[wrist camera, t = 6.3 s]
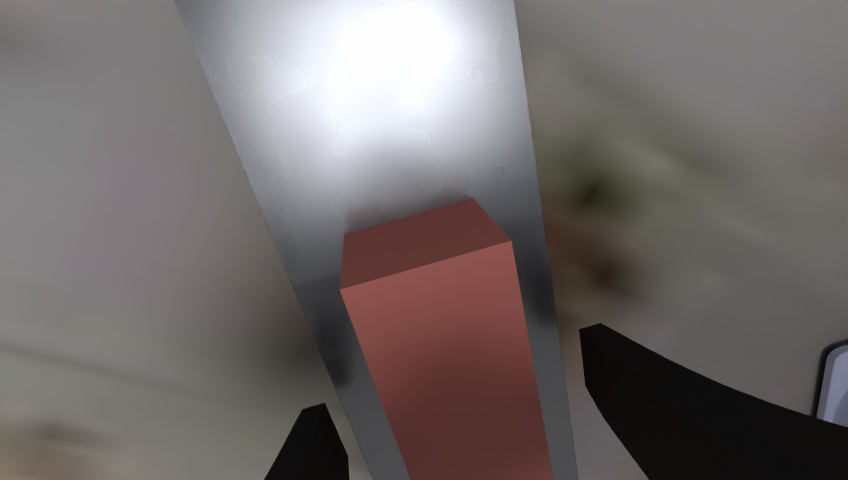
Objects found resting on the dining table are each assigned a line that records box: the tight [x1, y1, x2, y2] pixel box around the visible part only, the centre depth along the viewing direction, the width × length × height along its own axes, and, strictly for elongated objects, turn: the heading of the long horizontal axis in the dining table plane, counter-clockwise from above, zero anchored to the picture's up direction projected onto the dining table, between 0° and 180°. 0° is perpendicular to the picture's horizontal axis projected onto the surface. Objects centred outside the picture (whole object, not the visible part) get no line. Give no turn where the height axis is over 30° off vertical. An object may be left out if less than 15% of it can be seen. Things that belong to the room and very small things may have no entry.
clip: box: [340, 198, 554, 480], centre depth 12 cm, size 4×9×5 cm, turn 14°
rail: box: [174, 0, 578, 480], centre depth 14 cm, size 7×22×2 cm, turn 13°
